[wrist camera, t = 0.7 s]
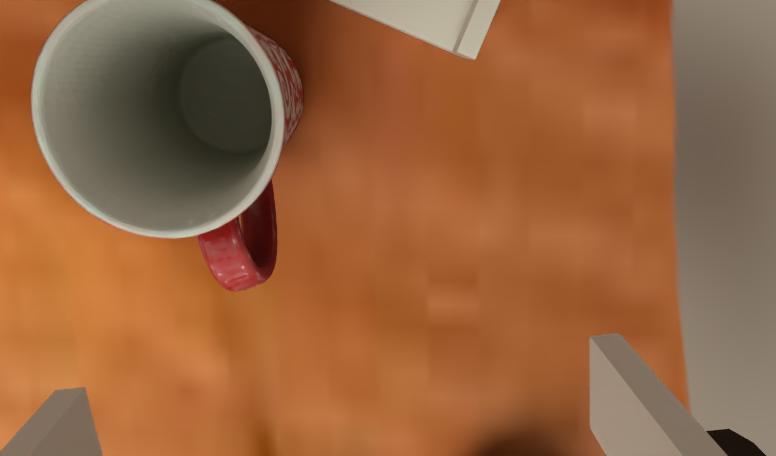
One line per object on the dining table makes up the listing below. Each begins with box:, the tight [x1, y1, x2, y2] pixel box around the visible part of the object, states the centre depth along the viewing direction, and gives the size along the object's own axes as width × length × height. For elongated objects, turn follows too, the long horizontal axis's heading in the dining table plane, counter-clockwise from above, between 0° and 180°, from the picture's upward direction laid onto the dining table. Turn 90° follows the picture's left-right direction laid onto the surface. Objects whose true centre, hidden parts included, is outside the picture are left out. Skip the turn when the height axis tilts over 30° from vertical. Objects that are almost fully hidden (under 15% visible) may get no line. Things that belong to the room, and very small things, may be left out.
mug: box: [30, 0, 303, 291], centre depth 29 cm, size 13×9×14 cm
